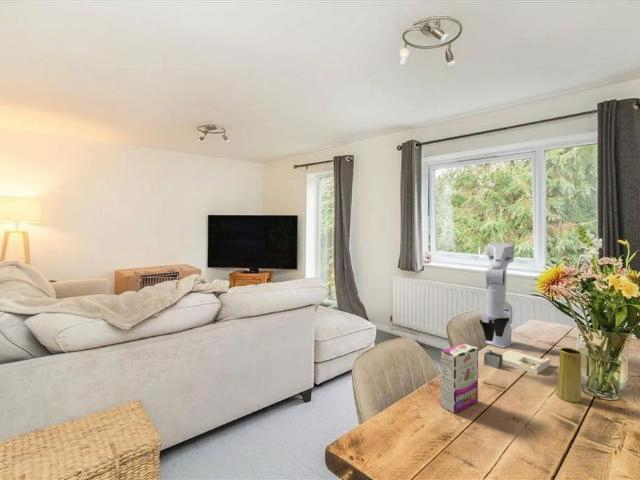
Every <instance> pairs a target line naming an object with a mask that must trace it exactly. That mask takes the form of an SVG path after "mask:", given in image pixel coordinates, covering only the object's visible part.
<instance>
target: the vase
mask: <svg viewBox="0 0 640 480" xmlns="http://www.w3.org/2000/svg"><path fill="white" fill-rule="evenodd" d="M558 365H559V366H558V370H557V373H558V374H557V381H556V382H557V384H556V385H557V387H556V396H557V398H560V399H561V400H562V401H566V402H570V403H580V402H581V401H582V352H581V351H580V350H578V349H575V348H572V347H571V348H570V347H561V348H560V349H559V364H558Z"/></svg>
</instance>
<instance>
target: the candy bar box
mask: <svg viewBox="0 0 640 480" xmlns="http://www.w3.org/2000/svg"><path fill="white" fill-rule="evenodd" d="M478 385H479V347H477V346H474V345H472V344H471V345H470V344H468V343H462V344H458V345H455V346H451V347H449V348H447V349H443V350H440V407H441V408H443V409H444V410H447V411H448V412H450V413H451V414H454V415H456V414H458V413H460V412H462V411H464V410H466V409H468V408H470V407H471V406H473V405H475V404H478V401H479V400H478V398H479V396H478V394H479V386H478Z"/></svg>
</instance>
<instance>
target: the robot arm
mask: <svg viewBox="0 0 640 480" xmlns="http://www.w3.org/2000/svg"><path fill="white" fill-rule="evenodd" d="M515 246H516V245H515V243H514V242H491V241H489V243H488V244H487V257H488V259H489V264H488V269H487V270H486V271H485V287H486V288H485V289H486V305H485V306H486V307H485V308H486V309H485V310H486V311H485V313H484V315H482V319H480V320H479V324H480V325H481V327H482V330H483V334H484V337H485V340H486V341H485V344H488V345H491V346H496V347H499V348H503V349H504V348H506V347H509V346H511V345H513V344H514V341H512V332H513V329H512V327H511V324H513V314H514V313H513V312H514V311H513V307H512V304H511V303H509V302H508V301H506V295H507V294H506V293H507V291H506V290H507V268H508V265H509V264H510V263H512V262H513V263H514V260H515Z"/></svg>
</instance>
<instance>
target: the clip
mask: <svg viewBox="0 0 640 480" xmlns="http://www.w3.org/2000/svg"><path fill="white" fill-rule="evenodd" d="M501 354H502V353H497V352H495V351H492V350H490V349H487V351H486V352H484V353H483V355H484V356H483V364H484V365H486V366H489V367H492V368H495V369H499V368H500V367H501V368H502V367H503V366H504V364H503V355H501Z"/></svg>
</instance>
